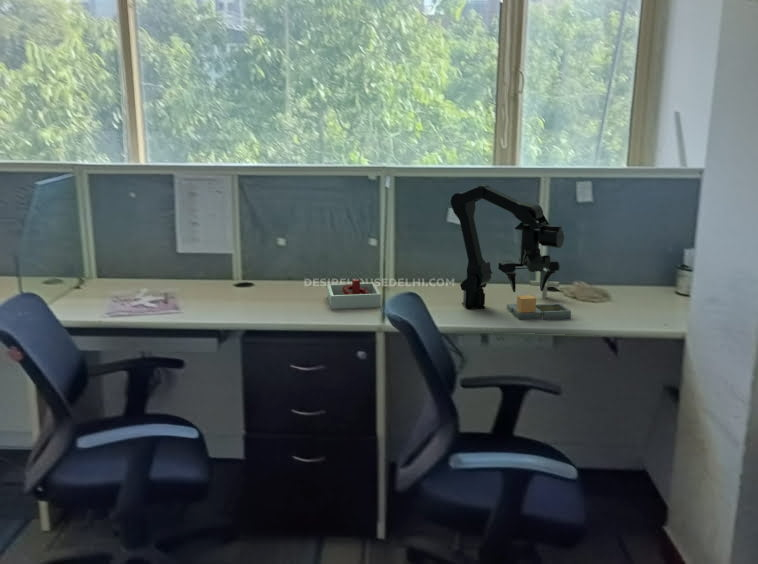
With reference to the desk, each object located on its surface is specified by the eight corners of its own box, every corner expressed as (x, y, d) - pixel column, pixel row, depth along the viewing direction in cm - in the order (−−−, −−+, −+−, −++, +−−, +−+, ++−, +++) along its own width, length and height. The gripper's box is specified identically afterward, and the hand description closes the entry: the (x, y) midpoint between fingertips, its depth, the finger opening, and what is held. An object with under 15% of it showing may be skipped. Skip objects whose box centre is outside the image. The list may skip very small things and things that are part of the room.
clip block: (520, 312, 238) (521, 299, 237) (516, 308, 242) (517, 295, 240) (535, 311, 238) (536, 298, 237) (531, 308, 242) (532, 295, 241)
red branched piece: (370, 307, 251) (370, 283, 249) (338, 304, 255) (337, 280, 253) (380, 299, 261) (380, 276, 259) (349, 296, 265) (349, 273, 263)
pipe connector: (558, 302, 257) (560, 274, 254) (529, 300, 259) (531, 273, 256) (557, 294, 266) (559, 267, 264) (529, 293, 268) (531, 266, 266)
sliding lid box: (520, 320, 236) (520, 313, 235) (511, 312, 244) (511, 305, 244) (570, 318, 238) (571, 311, 237) (560, 310, 247) (560, 303, 246)
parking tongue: (511, 312, 244) (511, 308, 244) (506, 308, 249) (506, 304, 249) (531, 311, 245) (531, 307, 245) (526, 307, 250) (526, 303, 250)
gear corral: (331, 308, 249) (330, 296, 248) (327, 296, 265) (327, 284, 263) (380, 306, 252) (380, 294, 250) (374, 294, 267) (374, 282, 266)
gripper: (509, 250, 225) (507, 299, 229) (567, 248, 228) (564, 296, 232) (498, 243, 236) (497, 290, 240) (554, 241, 239) (551, 287, 243)
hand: (527, 291), depth 238 cm, fingers open, 9 cm apart
